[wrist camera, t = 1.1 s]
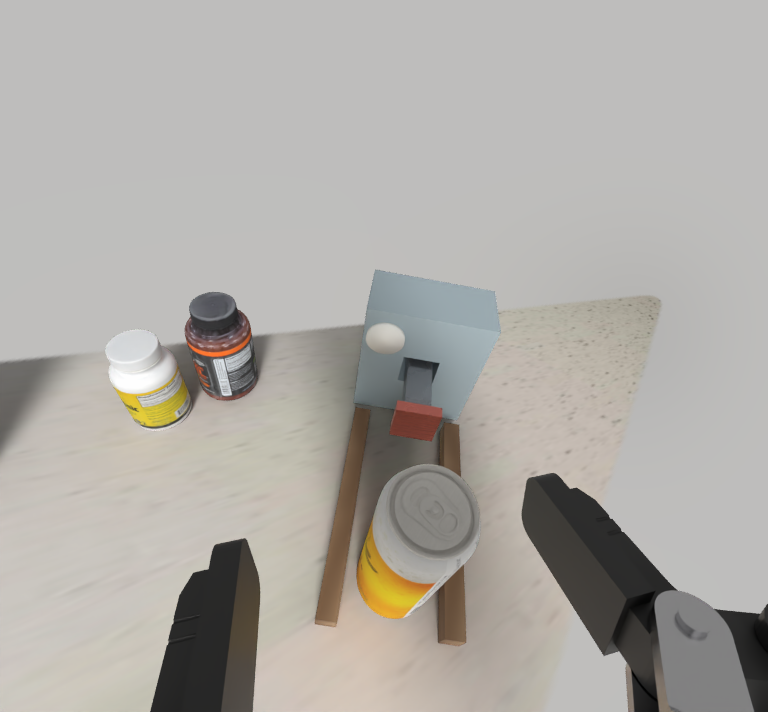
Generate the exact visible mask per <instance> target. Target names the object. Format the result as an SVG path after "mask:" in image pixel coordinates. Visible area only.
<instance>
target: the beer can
mask: <svg viewBox="0 0 768 712" xmlns="http://www.w3.org/2000/svg"><path fill="white" fill-rule="evenodd" d="M480 528H481V527H480V512H479V507H478V503H477V500H476V498H475V496H474V494H473V492H472V490H471V488H470V487H469V486H468V484H467V483H466V482H465V481H464V480H463V479H462V478H461V477H460V476H459V475H457V474H456V473H454V472H453V471H451V470H449V469H447V468H445V467H442V466H439V465H435V464H419V465H415V466H412V467H410V468H408V469H405V470H403V471H401V472H399V473H397V474H396V475H394V476H393V477H392V478H391V479H390V480H389V481H388V482H387V484H386V485H385V486H384V488H383V490H382V492H381V494H380V497H379V500H378V503H377V506H376V509H375V512H374V515H373V519H372V522H371V525H370V528H369V531H368V534H367V537H366V540H365V543H364V546H363V550H362V553H361V556H360V559H359V562H358V566H357V585H358V589H359V592H360V594H361V596H362V598H363V600H364V601H365V603H366V604H367V605H368V606H369V608H371V609H372V610H373V611H374V612H375V613H377V614H379V615H381V616H383V617H386V618H391V619H399V618H404V617H407V616H409V615H411V614H412V613H414V612H415V611H416V610H418V609H419V608H420V607H421V606H422V605H423V604H424V603H425V602H426V601H427V600H428V599H429V598H430V597H431V596H432V595H433V594H434V593H435V592H436V591H437V590H438V589H439V588H440V587H441V586H442V585H443V584H444V583H445V582H446V581H447V580H448V579H449V578H450V577H451V576H452V575H453V574H454V573H455V572H456V571H457V570H458V569H459V568H460V567H461V566H462V565H463V564H465V563H466V562H467V561H468V559H469V558H470V557H471V556H472V554H473V553H474V551H475V549H476V547H477V544H478V541H479V537H480Z"/></svg>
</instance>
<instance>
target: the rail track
mask: <svg viewBox="0 0 768 712" xmlns="http://www.w3.org/2000/svg"><path fill="white" fill-rule="evenodd" d="M370 411H371V410H369V409H363V408H357V407H356V409H355V414H354V419H353V424H352V430H351V435H350V440H349V445H348V450H347V456H346V461H345V466H344V471H343V477H342V482H341V487H340V492H339V497H338V503H337V508H336V513H335V518H334V524H333V529H332V534H331V539H330V545H329V550H328V555H327V560H326V565H325V571H324V576H323V581H322V586H321V592H320V597H319V602H318V607H317V612H316V618H315V624H318V625H324V626H331V627H336V624H337V619H338V613H339V607H340V600H341V594H342V588H343V581H344V575H345V569H346V562H347V556H348V550H349V543H350V537H351V531H352V524H353V518H354V512H355V505H356V499H357V493H358V486H359V480H360V474H361V468H362V461H363V455H364V449H365V442H366V436H367V430H368V423H369V417H370ZM440 466H442V467H445V468H447V469H449V470H451V471H453V472H454V473H456V474H457V475H459V476H460V477H461V471H460V441H459V425H457V424H451V423H445V422H444V424H443V426H442V429H441V431H440ZM438 643H442V644H448V645H455V646H460V645H462V644H464V643H466V619H465V589H464V564H463V565H462V566H461V567H460V568H459V569H458V570H457V571H456V572H455V573H454V574H453V575H452V576H451V577H450V578H449V579H448V580H447V581H446V582H445V583H444V584H443V585H442V586H441V587H440V588H439V616H438Z"/></svg>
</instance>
